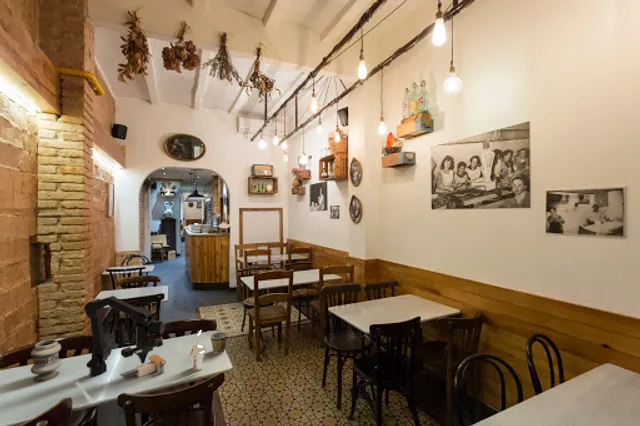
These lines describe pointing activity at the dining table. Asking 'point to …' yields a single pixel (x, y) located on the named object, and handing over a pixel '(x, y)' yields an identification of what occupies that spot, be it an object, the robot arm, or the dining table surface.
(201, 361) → the cup with straw
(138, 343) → the robot arm
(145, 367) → the plug
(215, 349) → the ceramic cup
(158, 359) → the copper metal plate
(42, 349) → the apothecary jar
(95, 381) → the dining table surface
